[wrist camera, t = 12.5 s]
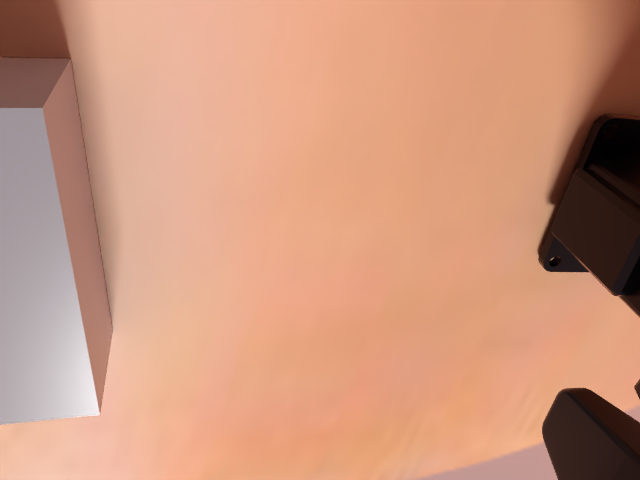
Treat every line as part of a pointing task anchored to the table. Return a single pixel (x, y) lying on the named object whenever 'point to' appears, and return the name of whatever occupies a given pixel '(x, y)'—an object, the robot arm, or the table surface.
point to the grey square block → (48, 251)
